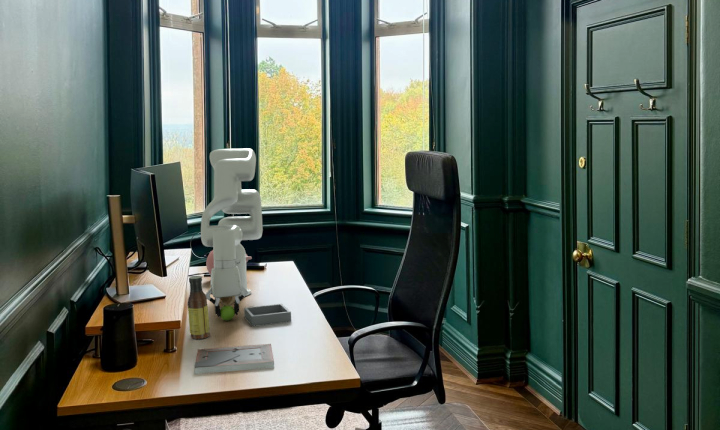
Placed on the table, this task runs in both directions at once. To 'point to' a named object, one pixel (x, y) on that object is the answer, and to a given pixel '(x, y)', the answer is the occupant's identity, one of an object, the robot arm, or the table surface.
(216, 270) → the robot arm
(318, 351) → the table surface
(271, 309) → the bin
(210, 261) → the balloon
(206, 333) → the sauce bottle
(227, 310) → the snail figurine
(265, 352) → the picture frame
